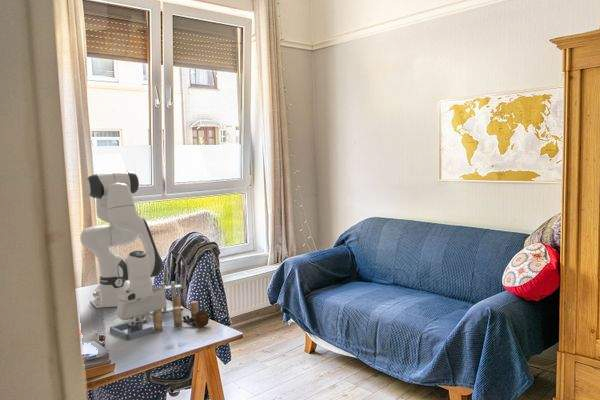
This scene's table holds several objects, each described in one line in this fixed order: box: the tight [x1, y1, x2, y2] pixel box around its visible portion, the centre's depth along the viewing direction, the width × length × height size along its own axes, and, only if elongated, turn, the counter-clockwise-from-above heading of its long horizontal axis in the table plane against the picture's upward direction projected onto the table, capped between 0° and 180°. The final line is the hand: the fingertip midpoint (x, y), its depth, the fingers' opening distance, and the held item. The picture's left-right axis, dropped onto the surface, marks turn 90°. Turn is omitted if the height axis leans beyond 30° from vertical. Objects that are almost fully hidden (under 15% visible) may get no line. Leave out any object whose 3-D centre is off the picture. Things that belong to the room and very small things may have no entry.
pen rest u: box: [109, 319, 154, 341], centre depth 194 cm, size 15×11×2 cm
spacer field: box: [134, 295, 200, 333], centre depth 206 cm, size 19×21×7 cm
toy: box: [181, 309, 210, 328], centre depth 200 cm, size 10×7×15 cm
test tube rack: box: [128, 281, 184, 319], centre depth 217 cm, size 25×4×13 cm, turn 112°
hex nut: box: [126, 321, 144, 334], centre depth 195 cm, size 6×5×3 cm
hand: (144, 324), depth 198 cm, fingers closed
